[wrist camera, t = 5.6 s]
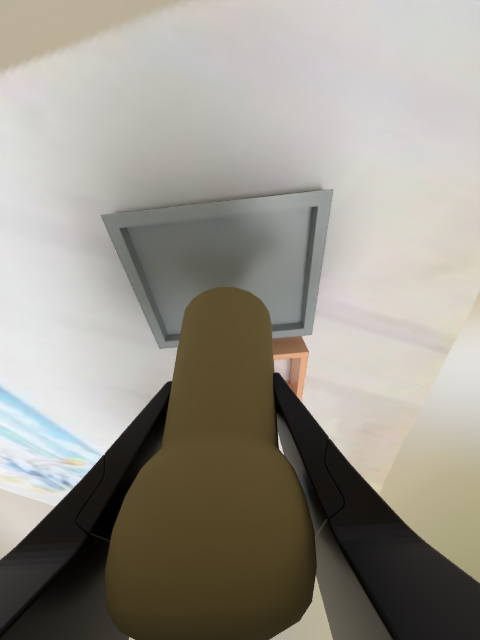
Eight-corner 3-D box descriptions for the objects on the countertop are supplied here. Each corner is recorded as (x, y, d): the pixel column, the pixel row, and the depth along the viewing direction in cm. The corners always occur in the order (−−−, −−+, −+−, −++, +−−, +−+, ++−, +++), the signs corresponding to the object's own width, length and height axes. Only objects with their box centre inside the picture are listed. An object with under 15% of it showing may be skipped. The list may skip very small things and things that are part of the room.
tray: (164, 338, 24) (159, 348, 23) (114, 213, 16) (100, 215, 15) (306, 324, 24) (311, 334, 22) (322, 189, 16) (333, 189, 14)
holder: (228, 390, 31) (228, 411, 28) (218, 340, 25) (216, 360, 22) (294, 385, 30) (300, 405, 27) (299, 333, 24) (308, 351, 21)
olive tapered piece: (283, 342, 14) (377, 632, 5) (211, 368, 15) (176, 632, 6) (250, 269, 11) (339, 705, 2) (163, 309, 12) (-58, 674, 3)
